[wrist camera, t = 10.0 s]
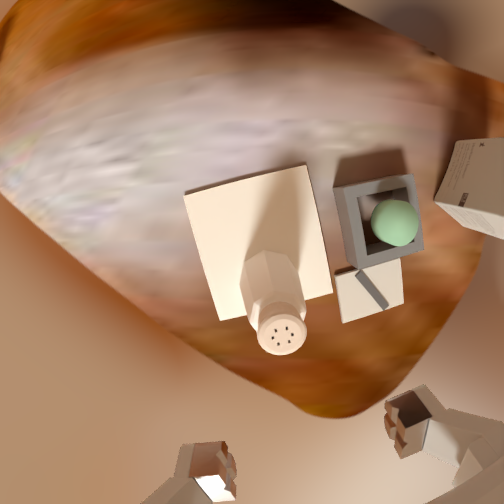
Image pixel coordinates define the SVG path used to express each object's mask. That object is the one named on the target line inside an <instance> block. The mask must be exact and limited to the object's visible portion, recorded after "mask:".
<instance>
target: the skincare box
mask: <svg viewBox="0 0 504 504" xmlns="http://www.w3.org/2000/svg"><path fill="white" fill-rule="evenodd" d="M434 202H435V203H436V204H437V205H439V206H440V207H441V208H442V209H444V210H445V211H446V212H447V213H448V214H449V215H451V216H452V217H453V218H454V219H455V220H456V221H458V222H459V223H460V224H461V225H462V226H463V227H467V228H470V229H473V230H476V231H479V232H483V233H486V234H489V235H492V236H495V237H498V238H501V239H504V138H486V139H470V140H459V141H457V142H456V143H455V147H454V151H453V154H452V158H451V161H450V163H449V166H448V169H447V171H446V174H445V176H444V179H443V181H442V184H441V186H440V188H439V190H438V192H437V194H436V196H435V199H434Z"/></svg>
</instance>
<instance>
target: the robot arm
mask: <svg viewBox="0 0 504 504" xmlns="http://www.w3.org/2000/svg"><path fill="white" fill-rule="evenodd" d="M385 409H386V411H387V413H386V414H385V416H384V423H385V429H386V431H387V434H388V436H389V438H390V439H393V440H395V444H394V447H395V449H396V451H397V453H398V455H399V457H400V459H403V458H405V457H408V456H410V455H412V454H414V453H417V452H419V451H421V450H422V451H423V452H425V453H427V454H429V455H431V456H433V457H435V458H437V459H439V460H441V461H444V462H445V463H448V464H450V465H452V466H454V467H456V468H458V472H457V474H456V476H455V478H454V480H453V482H452V485H453V486H454V489H452V490H450V491H448V492H447V493H445V494H443V495H441V496H439V497H437V498H436V499H433V500H432V501H430V502H428V503H425V504H504V423H503V422H502V421H497V420H493V419H488V418H485V417H480V416H477V415H473V414H469V413H465V412H461V411H458V410H454V409H450V408H449V409H447V410H446V409H445V408H444V407H443V406H442V404H441V403H440V402H439V401H438V400H437V398H436V397H435V396H434V395H433V393H432V392H431V391H430V390H429V389H428V387H427V386H426V385H424V384H423V385H421V386H418V387H416V388H414V389H412V390H409V391H407V392H405V393H402V394H400V395H397V396H395V397H393V398H390V399H388V400H386V401H385ZM236 475H237V470H236V463H235V460H234V457H233V456H232V454H231V453H228V446H227V445H226V443H225V441H218V442H207V443H193V444H183V445H182V446H181V447H180V452H179V455H178V460H177V464H176V468H175V473H174V477H173V478H169V479H168V480H167V481H166V482H165V483H163V484H162V485H161V486H160V487H159V488H158V489H157V490H156V491H154V493H152V494H151V495H150V496H149V497H148V498H146V499H145V500H144V501H143V502H142V503H140V504H212V502H219V501H231V500H236V485H235V483H234V481H233V480H234V479H235V478H236Z"/></svg>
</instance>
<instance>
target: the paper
mask: <svg viewBox="0 0 504 504" xmlns="http://www.w3.org/2000/svg"><path fill="white" fill-rule="evenodd" d="M183 197H184V201H185V204H186V208H187V212H188V215H189V219H190V223H191V226H192V230H193V233H194V237H195V240H196V244H197V247H198V251H199V254H200V258H201V261H202V264H203V268H204V271H205V274H206V278H207V281H208V284H209V288H210V291H211V294H212V297H213V300H214V303H215V307H216V310H217V313H218V316H219V319H220V321H222V320H226V319H231V318H235V317H239V316H244V315H247V313H246V309H245V305H244V302H243V298H242V294H241V290H240V286H239V283H240V278H241V273H242V268H243V263H244V262H245V261H247V260H248V259H250V258H252V257H253V256H255V255H256V254H258V253H259V252H261V251H262V250H267V251H272V252H277V253H282V254H286V255H287V256H288V258H289V259H290V261H291V262H292V264H293V266H294V267H295V269H296V270H297V272H298V274H299V278H300V282H301V287H302V291H303V296H304V300H308V299H311V298H315V297H319V296H322V295H326V294H329V293H333V290H332V284H331V278H330V273H329V267H328V262H327V257H326V252H325V247H324V242H323V237H322V232H321V227H320V222H319V218H318V213H317V209H316V204H315V200H314V196H313V191H312V187H311V183H310V179H309V175H308V171H307V167H306V165H303V166H299V167H294V168H290V169H285V170H281V171H277V172H272V173H268V174H264V175H260V176H256V177H252V178H248V179H244V180H240V181H236V182H232V183H228V184H225V185H221V186H217V187H213V188H210V189H206V190H203V191H199V192H196V193H192V194H189V195H185V196H183Z"/></svg>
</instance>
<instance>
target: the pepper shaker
mask: <svg viewBox="0 0 504 504" xmlns="http://www.w3.org/2000/svg"><path fill="white" fill-rule="evenodd" d="M239 286H240V290H241V294H242V298H243V302H244V305H245V309H246V313H247V317H248V320H249V322H250V324H251V325H252V326H253V328H254V329H255V330H256V332H257V339H258V341H259V344H260V345H261V347H262V348H263V349H264V350H266V351H267V352H269V353H271V354H275V355H286V354H289V353H292V352H294V351H296V350H297V349H298V348H299V347H300V346H302V344H303V342H304V341H305V338H306V335H307V329H306V325H305V323H304V318H305V314H306V305H305V300H304V296H303V291H302V287H301V282H300V278H299V274H298V272H297V270H296V269H295V267H294V266H293V264H292V262H291V261H290V259H289V258H288V256H287V255H286V254H282V253H277V252H272V251H267V250H262V251H261V252H259V253H258V254H256V255H255V256H253V257H252V258H250V259H248V260H247V261H245V262H244V263H243V268H242V273H241V278H240V283H239Z"/></svg>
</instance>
